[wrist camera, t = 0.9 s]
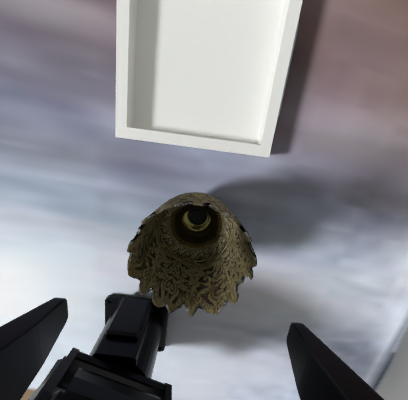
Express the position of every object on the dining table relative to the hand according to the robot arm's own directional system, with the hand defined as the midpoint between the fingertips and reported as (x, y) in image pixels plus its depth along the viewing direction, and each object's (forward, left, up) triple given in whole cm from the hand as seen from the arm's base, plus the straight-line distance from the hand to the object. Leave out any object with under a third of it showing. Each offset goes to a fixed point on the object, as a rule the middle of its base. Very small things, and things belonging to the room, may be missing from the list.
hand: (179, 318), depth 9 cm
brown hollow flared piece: (0, 0, -12) cm, 12 cm away
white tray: (+12, +1, -12) cm, 17 cm away
